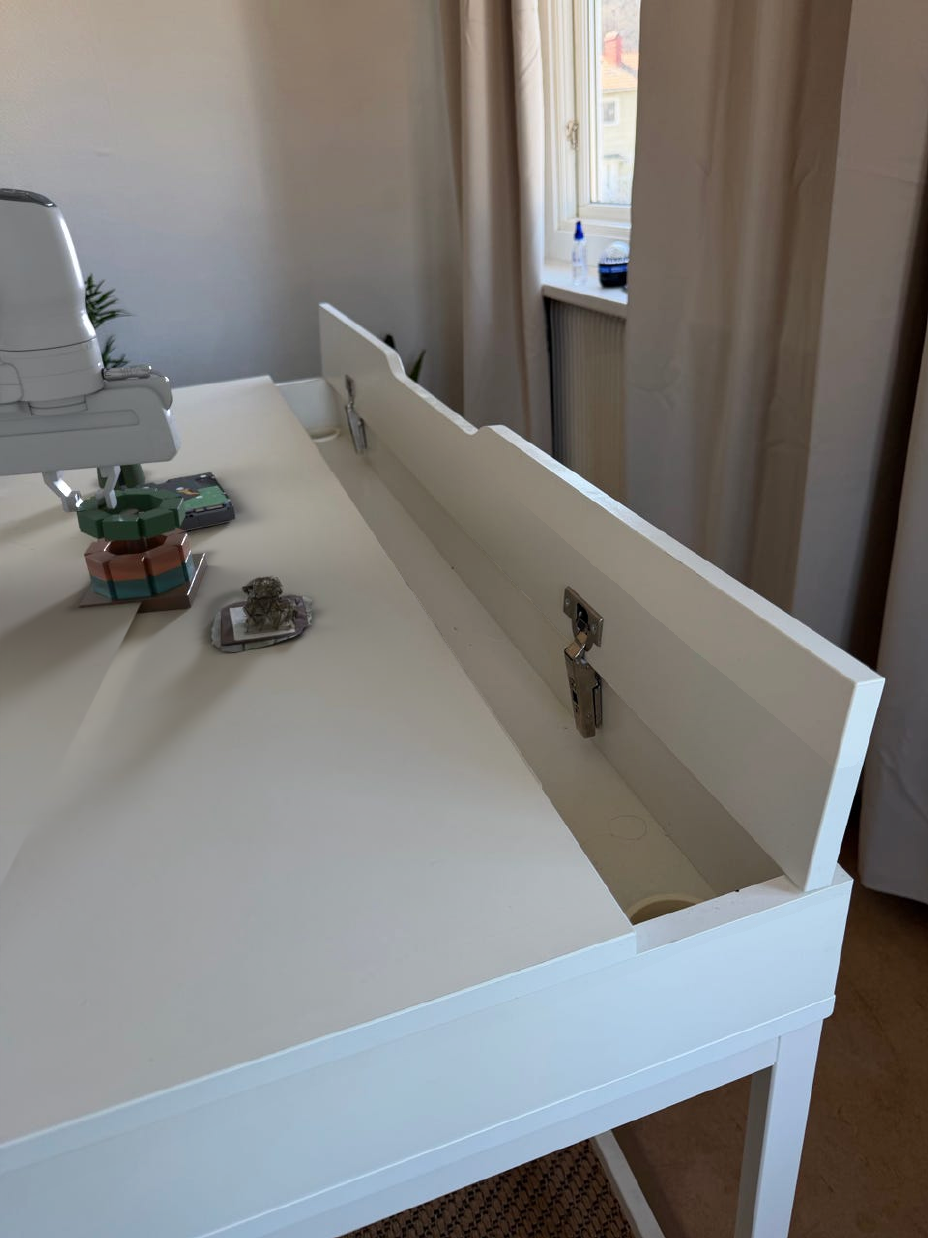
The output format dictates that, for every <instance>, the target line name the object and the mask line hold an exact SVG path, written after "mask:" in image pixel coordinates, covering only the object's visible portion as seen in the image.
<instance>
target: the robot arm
mask: <svg viewBox="0 0 928 1238" xmlns="http://www.w3.org/2000/svg"><path fill="white" fill-rule="evenodd" d="M97 335H98V334H97V332H96V329H95V327H94V325H93V324H92V322H91V320H90V318H89V315H88V311H87V307H86V283H85V280H84V276H83V271H82V268H81V265H80V261H79V257H78V255H77V251H76V247H75V244H74V241H73V237H72V235H71V232H70V230H69V227H68V224H67V221H66V220H65V217H64V215H63V213H62V212H61V210H60V208H59V207H58V206H57V204H56V203H55V202H54V201H52V200H51V199H49V198H48V197H47V196H45V195H44V194H41V193H38V192H34V191H30V190H24V189H17V188H8V187H7V188H5V187H1V188H0V477H7V476H18V475H19V476H20V475H31V474H41V475H42V479H43V482H44V484H45V485H46V486H47V487H48V488H49V489H50V490H51V491H52V492H53V493H54V494H55V495H56V496H57V497H58V498H60V502H61V504H62V508H63V511H64V513H66V514H67V513H68V514H69V513H70V514H71V513H77V512H76V510H77V509H78V508H79V507H80V505H81V504H82V503H83V502H84V500H82V494H81V491H80V490H72V489H71V488H70V487H69V486H68V485H67V484H66V482H65V481H64V480H63V479H62V477H63V476H64V475H65V472H64V471H75V470H87V469H88V470H89V469H97V468H99V469H100V473H101V476H102V477H107V476H108V478H107V481H106V484H105V488H103V489H101V488H98V489H97V491H96V493H94V496H95V498H96V501H97V502H98V504H97V506H98V508H99V509H100V510H103V509H114V508H115V506H116V504H117V501H116V497H115V493H114V487H115V484H116V482H117V479H118V476H119V473H120V466H122V465H133V464H141V465H144V464H155V463H164V462H165V463H167V462H171V461H173V460H174V458H176V456H177V454H178V453H179V452H180V449H181V447H182V439H181V434H180V432H179V427H178V424H177V421H176V418H175V415H174V412H173V410H172V405H173V402H174V401H173V392H172V387H171V383H170V380H169V379H168V377H167V376H166V375H165V374H164V373H163V372H161V371H160V370H157V369H154V368H153V369H152V367H151V366H150V365H137V366H135V367H108V368H107V367H106V368H105V364H104V361H103V356H102V353H101V348H100V344H99V339H98V336H97ZM153 375H154V376H153Z"/></svg>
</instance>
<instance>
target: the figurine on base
mask: <svg viewBox="0 0 928 1238" xmlns="http://www.w3.org/2000/svg"><path fill="white" fill-rule="evenodd" d="M241 590H242V592H243V593H244V594H245V595H246V596H247V599H243V600H239V601H235V602H232V603H231V604H229V605H226V606H224V607H222V608H221V609H220V611H218V612H217V613H216V615H215V616H214V617H215V618H214V621H213V624H212V627H211V628H210V630H211V636H210V638H211V640H212V642H211V645H213V646H215V647H216V648H217V649H218V650H219V651H222V652H229V653H236V652H237V653H238V652H243V651H247V650H251V649H259V648H264V647H269V646H271V645H275V644H278V643H279V642H282V641H285V640H288V639H291V638H293V637H296V636H298V635H300V634H302V633H303V630H304V629H305V628H306V627H309V626H311V625H312V623H311V622H310V621H311V620H312V619H313V616H312V614H313V610H312V609H313V608H311V603H312V602H313V601H314V600H313V599H311V598H309V597H307V596H305V595H297V594H285V595H284V594H283V593H284V585H283V582H282V580H281V579H280V578H279V577H278V576H276V575H268V576H257V577H254V578H253V579H251V580H250V581H249V582H247V583H246V584H244V585H243V586H241ZM282 594H283V595H282Z"/></svg>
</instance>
